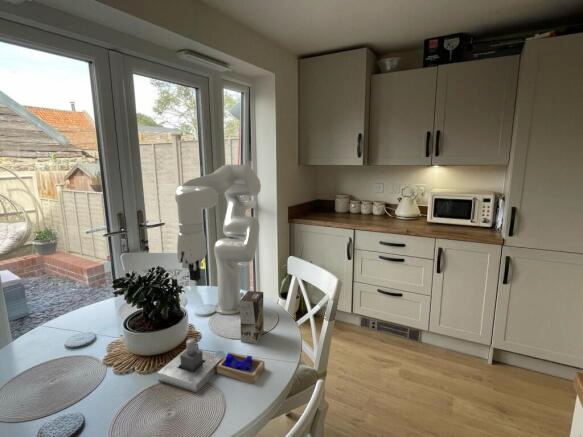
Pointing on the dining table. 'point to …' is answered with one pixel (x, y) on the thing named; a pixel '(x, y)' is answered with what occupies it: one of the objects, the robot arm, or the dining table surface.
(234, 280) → the robot arm
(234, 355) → the tidy tray
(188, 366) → the plug
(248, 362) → the cable holder
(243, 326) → the coffee box
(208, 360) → the socket plate
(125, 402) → the dining table surface
